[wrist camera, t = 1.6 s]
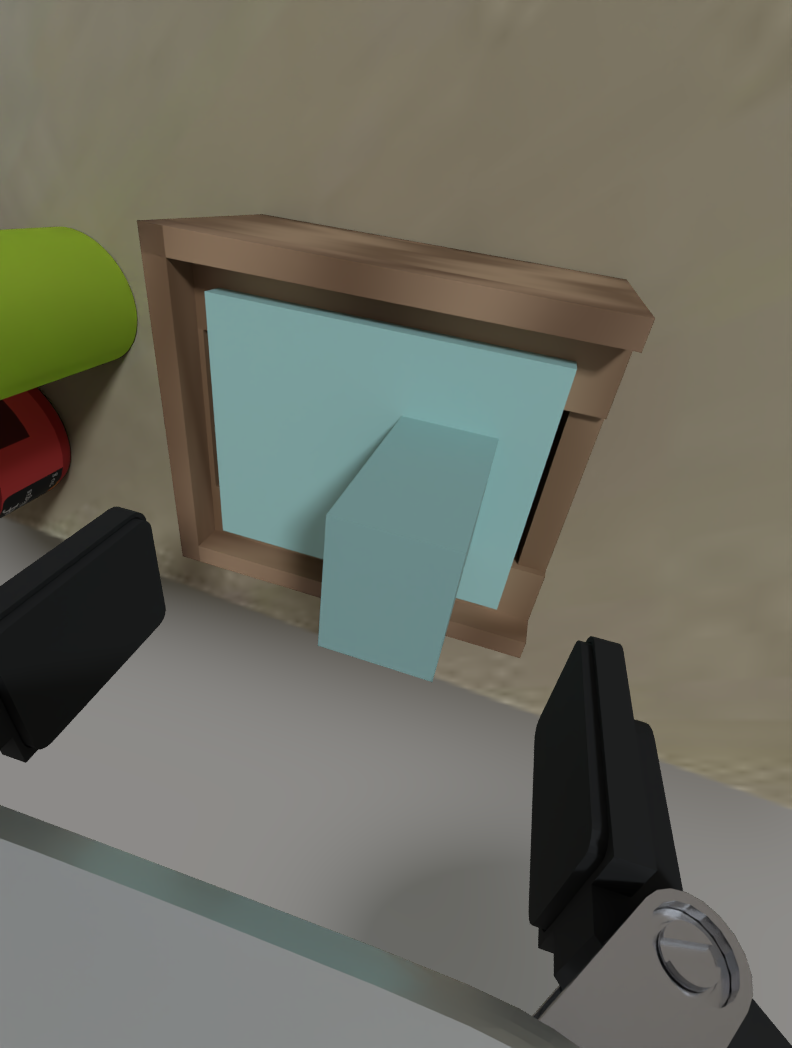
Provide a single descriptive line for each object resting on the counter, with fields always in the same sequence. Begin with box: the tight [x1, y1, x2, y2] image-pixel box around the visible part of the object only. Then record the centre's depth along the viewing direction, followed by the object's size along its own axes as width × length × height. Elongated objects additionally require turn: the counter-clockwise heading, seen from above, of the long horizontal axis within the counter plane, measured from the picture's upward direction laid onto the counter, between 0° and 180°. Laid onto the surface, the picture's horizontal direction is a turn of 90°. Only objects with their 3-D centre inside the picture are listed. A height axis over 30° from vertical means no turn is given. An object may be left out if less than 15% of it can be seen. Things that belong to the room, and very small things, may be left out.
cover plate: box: [204, 288, 577, 682], centre depth 15 cm, size 11×9×7 cm
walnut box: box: [137, 214, 655, 658], centre depth 19 cm, size 14×12×7 cm
